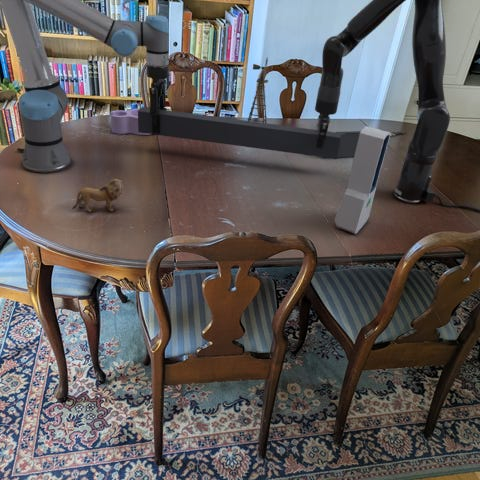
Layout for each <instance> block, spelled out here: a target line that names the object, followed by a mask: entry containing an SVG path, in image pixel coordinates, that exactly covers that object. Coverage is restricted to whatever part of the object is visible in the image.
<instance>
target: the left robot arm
mask: <svg viewBox="0 0 480 480" xmlns="http://www.w3.org/2000/svg"><path fill="white" fill-rule="evenodd" d="M33 6H34V7H36V8H38V9H39V10H41V11H43V12H45V13H47V14H48V15H50V16H53V17H54V18H56V19H58V20H60V21H62V22H64V23H66V24H67V25H69V26H71V27H73V28H75V29H76V30H79V31H80V32H82V33H84V34H86V35H88V36H90V37H92V38H93V39H95V40H97V41H99V42H101V43H103V44H104V45H106V46H108V47H110V48H112V50H113V51H114V53H116V54H117V55H118V56H120V57H129V56H132V55H133V54H134V53H135V51H136V50H137V48H138V47H146V49H145V50H146V52H145V54H146V55H145V57H146V59H145V60H146V62H145V63H146V64H147V65H146V76H147V77H148V78H150V79H151V83H150V87H149V88H148V93H149V108H150V114H149V115H150V116H152V133H158V134H160V116H159V109H161V110H167V107H166V106H167V101H166V100H167V92H166V91H167V89H166V88H167V87H166V86H167V79H168V78H169V77H170V68H169V64H170V63H169V60H171V56H169V55H170V54H169V53H170V51H169V50H170V26H169V25H170V24H169V19H168V17H166V16H165V15H158V14H148V15H146V16H145V20H144V21H135V20H126V19H125V20H123V19H114V18H112V17H110V16H108V15H106V14H105V13H103V12H101V11H99V10H97V9H96V8H94V7H92V6H90V5H89V4H87V3H86V2H84V1H81V0H0V7H1V10H2V13H3V16H4V19H5V21H6V24H7V27H8V30H9V31H8V32H9V34H10V36H11V40H12V42H13V45H14V48H15V51H16V53H17V57H18V60H19V62H20V65H21V68H22V72H23V74H24V77H25V81H24V83H23V84H22V85H23V88H24V91H25V92H24V93H22V94H21V95H20V96H19V98H18V111H19V114H20V119H21V125H22V132H23V137H24V148H21V147H18V148H16V151H18V152H21V153H22V158H21V159H22V160H21V161H22V166H23V168H24V169H25V170H27V171H29V172H33V173H39V174H46V173H56V172H61V171H63V170H66V169H67V168H69V167H70V166H71V163H72V159H71V155H70V153H69V151H68V150H67V149H68V148H67V147H66V145H65V143H64V140H63V132H62V122H61V121H62V119H63V118H64V116H65V113H66V112H67V110H68V107H69V99H68V95H67V92H66V91H65V89H64V88H63V87H62V85H61V82H60V79H59V77H58V76H56V75H54V74H53V71H52V68H51V65H50V61H49V59H48V58H49V57H48V56H47V52H46V49H45V45H44V43H43V39H42V36H41V33H40V30H39V26H38V23H37V19H36V16H35V15H34V14H35V13H34V10H33Z"/></svg>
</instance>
